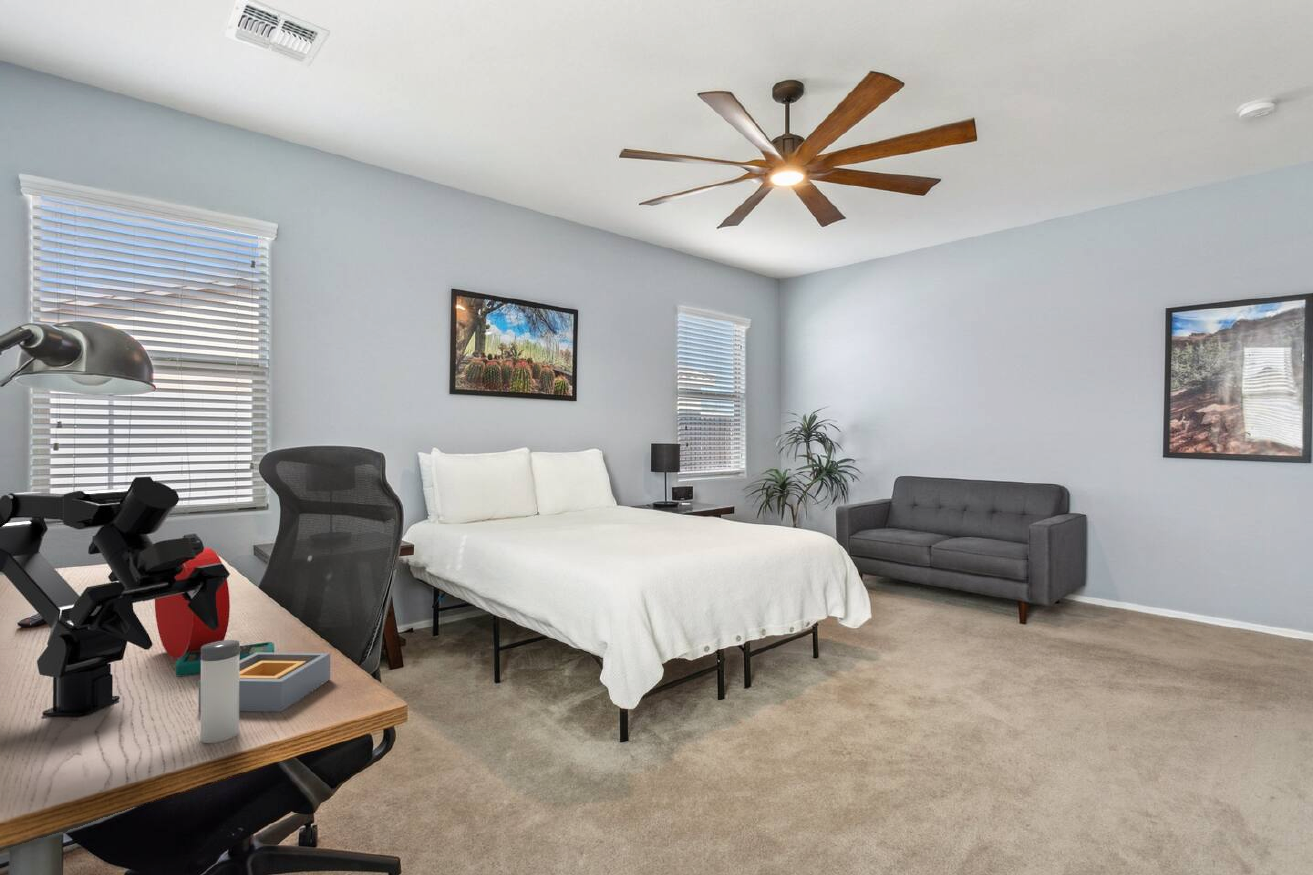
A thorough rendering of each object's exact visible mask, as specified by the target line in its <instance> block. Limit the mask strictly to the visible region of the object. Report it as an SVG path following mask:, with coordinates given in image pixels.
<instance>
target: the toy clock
mask: <svg viewBox="0 0 1313 875" xmlns="http://www.w3.org/2000/svg"><path fill="white" fill-rule="evenodd" d="M216 563H219V564H223V562H222V559H221V558H220V556H219V555H218V554H217V552H216V551H215V550H213V549H212V548H210V547H204V550H203V552H202V553H200V554H199V555H197V556H196V558H195V559H193V560H191V559H190V560H189V561H187V562H185V563H184V564H182V565H181V566H182V567H183V570H182V571H181V573H180V574H177V575H176V576H175V578H176V580H181V579H186V578H188V577H189V575H190V574H191V573H192V571H193V570H194V569H195V567H200V566H205V565H211V564H216ZM229 588H230V587H229V584H228V578H227V579H226V580H225V582H224V583H223V584H222V585H221V587H220V588H219V589H218V591H217V592H216V606H217V613H218V621H219V627H218V628H217V630H215V631H213V630H211V629H210V628H209V627H207V626H206V625H205V624H204V623H203V622H202V621H201V620H200V619H199V617H198V616H197V615H196V614H195V613H194V612H193V611H192V610H191V609H190V608H189V607H188V606H187V605H188V603H189V602H190V601H188V600H185V599H184V598H183V596H182V595H181V594H176V595H172V596H167V597H162V598H158V599H154V612H155V613H154V614H155V621H156V626H157V632H158V635H159V638H160V641H161V644H162V646H163V648H164V650H165V652H166V654H167V655H168V656H169V657H171V659H175V660H178V659H179V658H180V657H182V656H183V655H184V654H185V653H187V652H193V651H201V647H202V646H203V645H206V644H209V643H212V642H217V641H224V640H226V639H225V638H226V636H227V632H228V627H229V621H230V613H231V612H230V609H231V608H230V606H231V603H230V600H231V599H230V591H229V590H230V589H229Z"/></svg>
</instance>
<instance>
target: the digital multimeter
mask: <svg viewBox="0 0 1313 875" xmlns="http://www.w3.org/2000/svg"><path fill="white" fill-rule="evenodd" d="M256 652H272V653H275V643H273V642H271V641H265V642H261V643H254V644H253V643H252V644H246V645H239V661H240V660H242V659H244V658H246V657H248V656H250V655H252V654H254V653H256ZM196 674H201V651H193V652H187V653H185V654H184V655H183V656H182V657H180V658H179V659H176V661H175V676H176V677H182V676H190V675H191V676H192V675H196Z"/></svg>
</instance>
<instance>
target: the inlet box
mask: <svg viewBox="0 0 1313 875" xmlns="http://www.w3.org/2000/svg"><path fill="white" fill-rule="evenodd" d="M328 680H329V681H331V653H330V652H328V653H327V652H323V653H322V652H274V653H272V652H256V653H254V654H252V655H250V656H248V657H246V658H244V659H242V660H240V661H239V712H280V713H281V712H284V711H285V710H286V709H288V708H289V707H291V706H293V705H294V704H296V703H297V702H298V701H300V700H302V699H303V698H305V697H306V696H307V695H306V694H308V693H309V694H310V692H311V691H312V690H314V689H315V688H317V687H318V686H320V685H321V684H322V683H324V684H325V682H326V681H328ZM329 681H328V682H329ZM326 683H327V682H326ZM321 686H322V685H321ZM321 686H320V687H321ZM318 688H319V687H318ZM318 688H317V689H318ZM315 690H316V689H315ZM315 690H314V691H315ZM312 692H313V691H312ZM312 692H311V693H312ZM309 694H308V695H309ZM305 695H306V696H305ZM304 696H305V697H304ZM302 697H303V698H302ZM301 698H302V699H301ZM292 704H293V705H292ZM197 709H198V711H201V678H200V679H199V680H198V708H197Z"/></svg>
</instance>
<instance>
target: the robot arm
mask: <svg viewBox="0 0 1313 875" xmlns="http://www.w3.org/2000/svg"><path fill="white" fill-rule="evenodd" d="M179 500H180V496H179V494H178V492H177V491H176V489H172V488H171V487H170V486H169V485H166V484H163V483H162V482H159V481H158V482H157V481H154V480H153V478H152V477H151V476H135V477H134V478H133V480H132V481H131V483H130V486H129V488H128V489H127V488H123V487H119V488H106V489H105V488H102V489H87V490H75V491H71V492H67V493H49V492H48V493H47V492H41V491H39V490H38V491H26V492H25V491H23V492H9V493H8V494H3V495H2V496H1V497H0V573H2V574H4V576H5V577H6V578H7V579H8V581H10V583H11V584H12V585H13V586H14V587H15V588H16V590H17V591H18V592H19V593H20V594H21V595H22V596H23V598H25V599H26V601H27V602H28V603H29V605H31V607H32V608H33V609H34V610H35V611H36V612H37V613H38V615H39V616H40V617H41V618H42V619H43V620H44V621H45V622H46V624H47V625H48V626H49V627H50V629H49V630H50V631H49V635H48V639H47V643H46V645H47V647H46V648H45V649H44V651H43V652H42V653H41V655H40V656H39V657H38V658H37V661H36V665H37V669H38V673H39V675H40V676H43V677H44V676H46V677H50V678H52V707H51V708H47V709H46V710H43V711H42V713H41V714H42V716H56V717H57V716H58V717H60V716H61V717H81V716H82V717H83V716H85V715H88V714H90V713H92V712H94V711H97V710H99V709H101V708H103V707H105V706H108V705H110V704H112V703H114V702H117V701H119V700H120V699H121V698H120V696H119V695H113V683H114V682H113V681H114V680H113V678H114V677H113V674H112V673H111V672H112V670H111V669H112V664H111V663H115V662H117V661H118V662H119V661H123V660H124V656H125V652H126V648H127V645H128V643H131V644H133V645H134V646H136V647H139V648H141V649H142V650H145V651H148V650H150V649H151V648H152V647H153V646H154V645H153V641H152V639H151V637H150V635H149V633H148V631H147V630H146V629H145V626H144V624H143V623H142V622H141V621H140V619H139V617H138V615H137V614H136V612H135V611H134V604H135V603H140V602H148V601H152V600H155V599H158V598H162V597H167V596H172V595H176V594H181V595H182V596H183V598H184V599H185V600H188V601H190V602H189V603H188V605H187V606H188V607H189V608H190V609H191V610H192V611H193V612H194V613H195V614H196V615H197V616H198V617H199V619H200V620H201V621H202V622H203V623H204V624H205V625H206V626H207V627H209V628H210V629H211V630H213V631H215V630H217V628H218V627H219V621H218V613H217V606H216V592H217V591H218V589H219V588H220V587H221V585H222V584H223V583H224V582H225V580H226V579H227V580H228V578H229V576H230V575H231V573H230V572H229V570H228V569H227V567H226V566H225V565H224V563H222V564H219V563H216V564H211V565H205V566H200V567H195V569H194V570H193V571H192V573H191V574H190V575H189V577H188V578H186V579H181V580H176V578H175V576H176V575H177V574H180V573H181V571H182V570H183V567H182V566H181V565H182V564H184V563H185V562H187V561H189V560H190V559H191V560H193V559H195V558H196V556H197V555H199V554H200V553H202V552H203V550H204V548H205V547H204V544H203V540H202V539H201V538H200V537H199V536H198V534H196V533H190V534H184V535H183V537H179V538H173V539H165V540H161V541H157V542H155V543H153V541H152V540H151V539H150V537H149V534H150V535H151V534H153V533H156V532H157V531H158V530H159V529H160V528H161V527H162V525H163V524H164V522H165V521H166V520H167V519H168V517H169V516H170V515H171V513H172V511H173V510H174V509H175V507H176V506H177V504H178V503H179ZM20 518H26V519H27V518H28V519H30V518H31V520H17V521H11V519H20ZM45 519H47V520H61V521H62V524H63V525H64V526H67V527H69V528H73V529H75V530H89V529H96V528H99V529H98V530H97V532H96V534H95V535H93V536H92V540H91V543H90V544H89V545H88V548H87V549H88V551H87V552H88V554H89V555H96V554H101V556H102V558H104V561H105V562H106V564H107V565H108V567H109V569H110V570H111V571H110V573H109V574H108V576H107V578H108V580H109V582H107V583H103V584H96V585H91V586H87V587H86V588H85V589H84V590H83V591H82V593H81V595H79V594H78V592H77V591H76V590H74V588H73V587H72V585H70V584H69V583H68V582H67V581H66V579H65V578H63V576H62V575H61V574H60V573H59V572H58V571H57V569H55V567H54V566H53V565H52V564H51V563H50V562H49V560H47V558H45V557H44V556H43V555H42V553H41V551H40V549H41V546H42V543H43V537H44V536H45V534H46V533H47V532H48V526H47V523H46V520H45Z"/></svg>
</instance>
